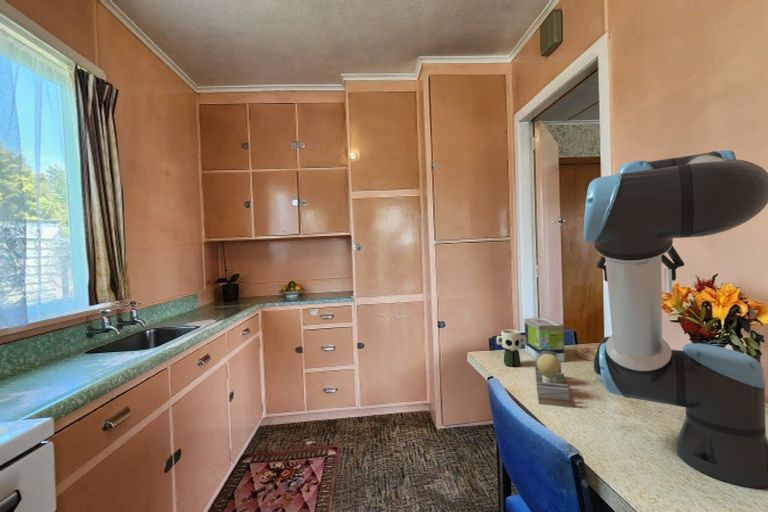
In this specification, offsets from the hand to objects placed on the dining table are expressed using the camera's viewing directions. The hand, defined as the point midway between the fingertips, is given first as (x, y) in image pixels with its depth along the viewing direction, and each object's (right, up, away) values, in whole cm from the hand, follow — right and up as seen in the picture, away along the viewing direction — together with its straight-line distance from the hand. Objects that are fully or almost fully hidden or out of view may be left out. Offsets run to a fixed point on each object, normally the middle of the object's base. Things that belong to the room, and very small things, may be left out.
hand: (639, 292), depth 98 cm
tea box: (-7, -31, +44) cm, 54 cm away
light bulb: (-21, -30, +9) cm, 38 cm away
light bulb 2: (+13, -30, +38) cm, 50 cm away
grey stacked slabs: (-19, -32, +12) cm, 39 cm away
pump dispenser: (+2, -31, +15) cm, 34 cm away
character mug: (-23, -32, +36) cm, 53 cm away
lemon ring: (+14, -30, +41) cm, 53 cm away
